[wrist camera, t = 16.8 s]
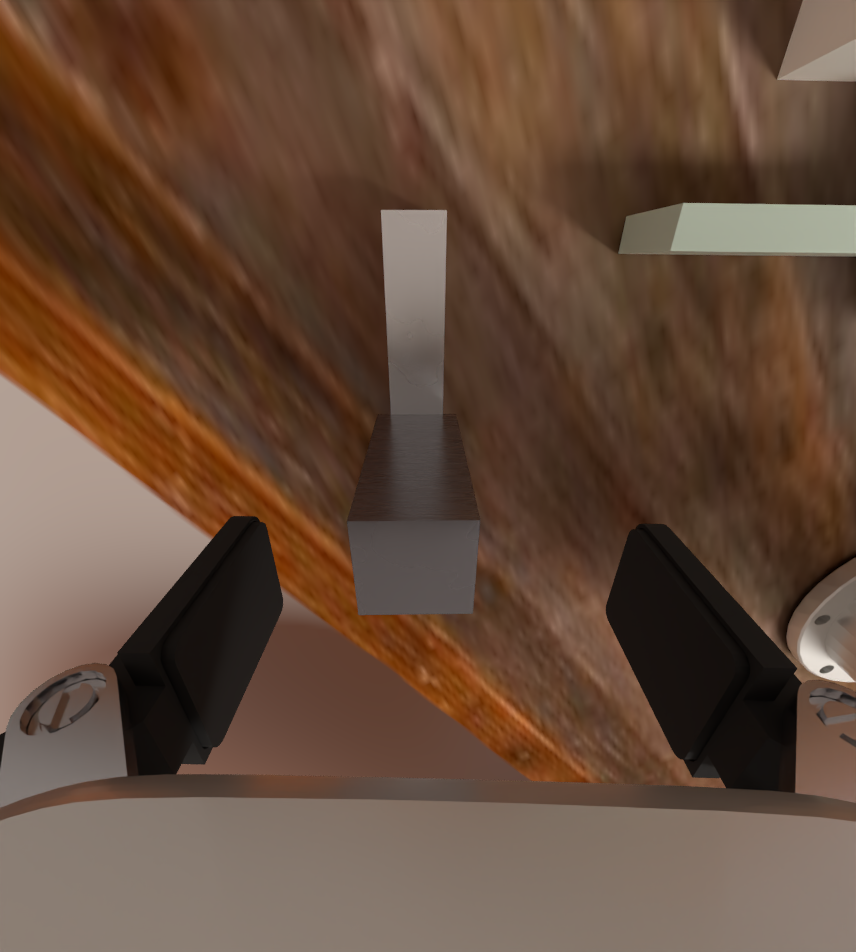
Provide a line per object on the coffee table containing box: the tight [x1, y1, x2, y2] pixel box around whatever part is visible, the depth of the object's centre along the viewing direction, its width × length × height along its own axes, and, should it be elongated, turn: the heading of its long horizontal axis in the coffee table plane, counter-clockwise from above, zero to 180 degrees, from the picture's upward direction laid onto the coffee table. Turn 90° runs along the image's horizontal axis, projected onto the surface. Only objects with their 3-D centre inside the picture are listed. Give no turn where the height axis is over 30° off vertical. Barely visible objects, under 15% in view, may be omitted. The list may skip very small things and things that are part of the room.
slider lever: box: [347, 210, 480, 615], centre depth 14 cm, size 3×16×10 cm, turn 0°
